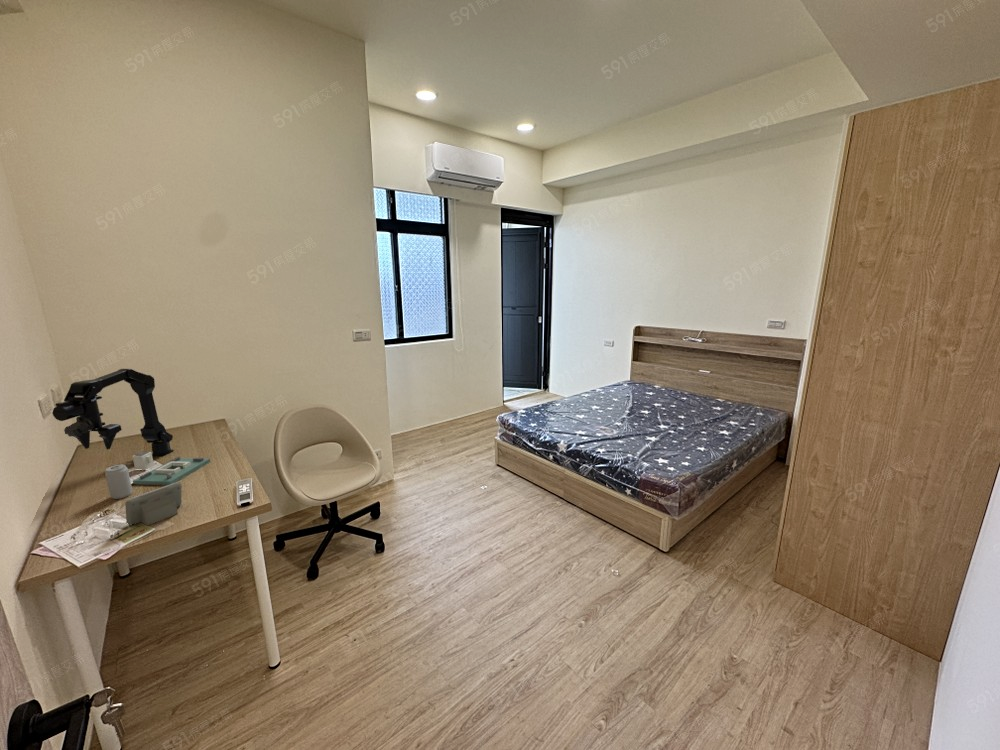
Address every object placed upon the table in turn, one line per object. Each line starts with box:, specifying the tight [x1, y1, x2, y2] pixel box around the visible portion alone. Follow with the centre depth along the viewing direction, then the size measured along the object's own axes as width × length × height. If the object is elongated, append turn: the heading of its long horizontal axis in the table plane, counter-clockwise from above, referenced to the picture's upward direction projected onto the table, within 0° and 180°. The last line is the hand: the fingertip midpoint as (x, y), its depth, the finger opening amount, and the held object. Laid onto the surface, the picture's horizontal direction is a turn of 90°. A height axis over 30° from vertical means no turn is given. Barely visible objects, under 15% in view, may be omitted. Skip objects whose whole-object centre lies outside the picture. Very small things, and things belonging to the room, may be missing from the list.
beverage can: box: [104, 464, 134, 500], centre depth 156 cm, size 6×6×12 cm
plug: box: [132, 451, 155, 471], centre depth 179 cm, size 4×6×7 cm
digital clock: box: [124, 481, 183, 526], centre depth 142 cm, size 16×9×11 cm, turn 139°
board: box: [132, 456, 211, 486], centre depth 176 cm, size 22×16×3 cm
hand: (97, 448), depth 165 cm, fingers open, 9 cm apart
